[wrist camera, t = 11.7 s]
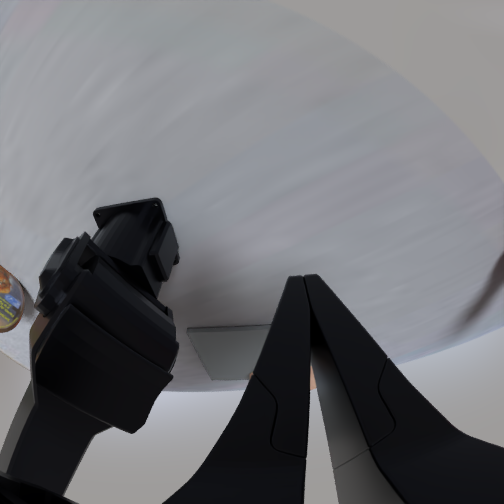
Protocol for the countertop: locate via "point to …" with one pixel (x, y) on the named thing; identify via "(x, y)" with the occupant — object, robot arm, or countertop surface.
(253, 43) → the countertop surface
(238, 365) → the mat
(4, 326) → the tin
